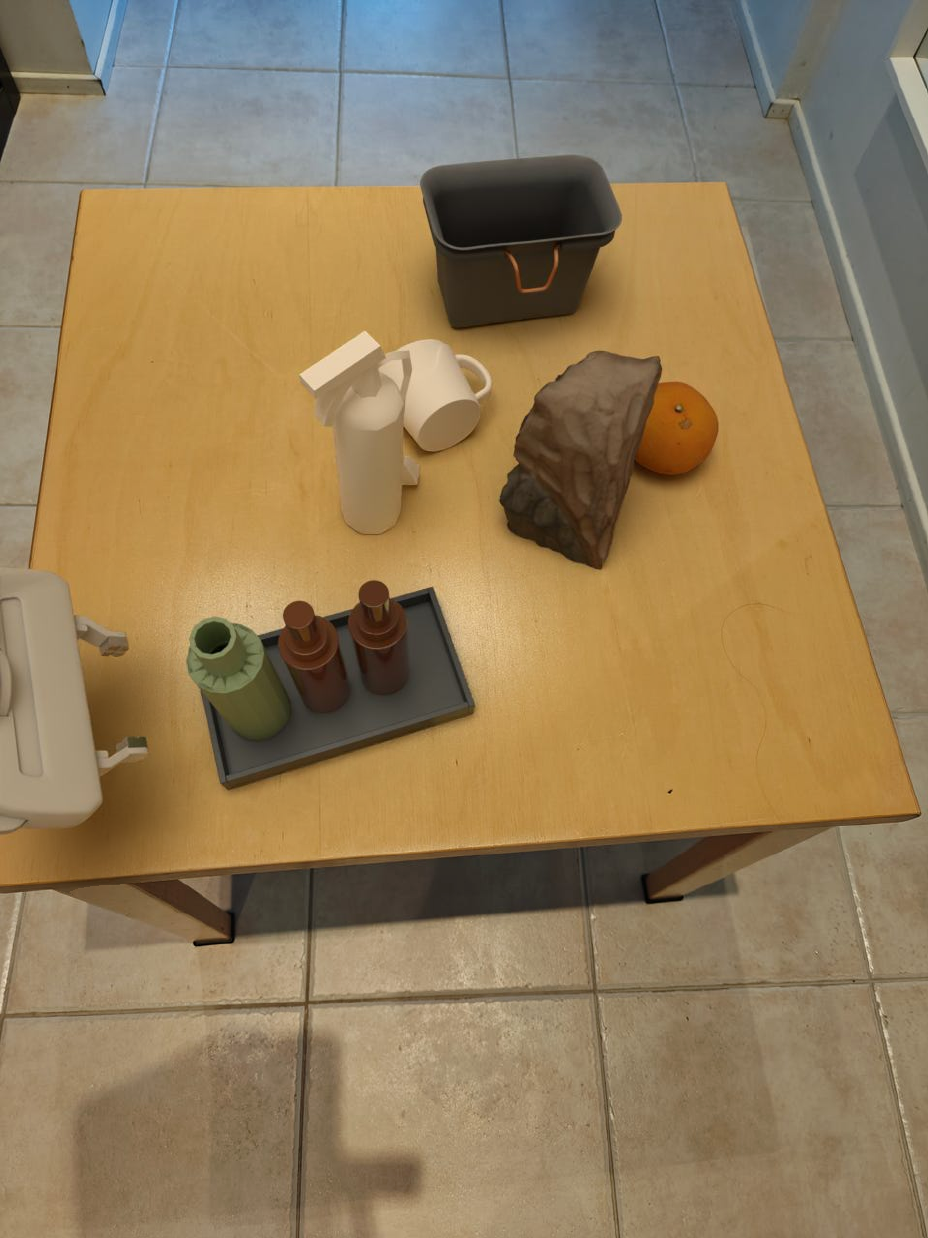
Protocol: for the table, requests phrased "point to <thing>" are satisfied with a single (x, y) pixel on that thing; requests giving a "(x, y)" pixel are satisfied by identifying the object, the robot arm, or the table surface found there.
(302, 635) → the bottle row
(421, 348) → the mug
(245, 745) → the tray
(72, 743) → the robot arm
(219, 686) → the green bottle
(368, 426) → the fire extinguisher
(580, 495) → the brown rock chunk
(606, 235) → the storage bin
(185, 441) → the table surface
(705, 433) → the fruit
